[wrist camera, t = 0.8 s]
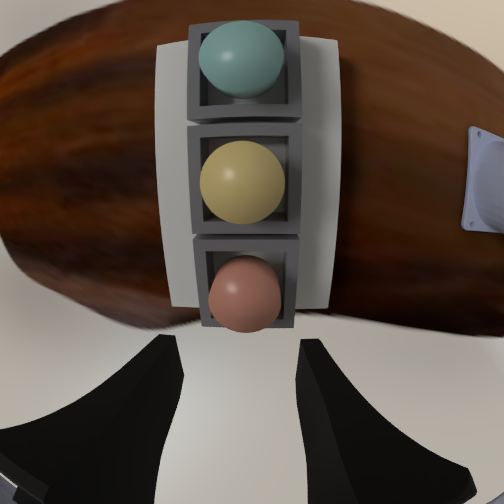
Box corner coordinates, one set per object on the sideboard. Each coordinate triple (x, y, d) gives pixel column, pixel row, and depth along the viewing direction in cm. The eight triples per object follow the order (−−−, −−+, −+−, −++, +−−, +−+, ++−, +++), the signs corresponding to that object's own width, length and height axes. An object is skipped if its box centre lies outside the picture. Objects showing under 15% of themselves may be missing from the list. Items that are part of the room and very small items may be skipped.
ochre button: (281, 142, 12) (285, 141, 10) (281, 213, 13) (284, 224, 11) (207, 143, 12) (198, 142, 10) (210, 214, 13) (201, 224, 11)
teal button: (279, 36, 10) (282, 20, 8) (281, 99, 11) (284, 90, 9) (208, 39, 10) (199, 24, 8) (207, 101, 11) (198, 93, 9)
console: (329, 51, 13) (347, 27, 9) (322, 292, 19) (334, 326, 15) (168, 55, 13) (143, 34, 9) (180, 291, 19) (162, 323, 15)
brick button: (280, 255, 14) (282, 271, 12) (278, 312, 15) (279, 332, 13) (212, 254, 14) (205, 270, 12) (216, 311, 15) (211, 331, 13)
